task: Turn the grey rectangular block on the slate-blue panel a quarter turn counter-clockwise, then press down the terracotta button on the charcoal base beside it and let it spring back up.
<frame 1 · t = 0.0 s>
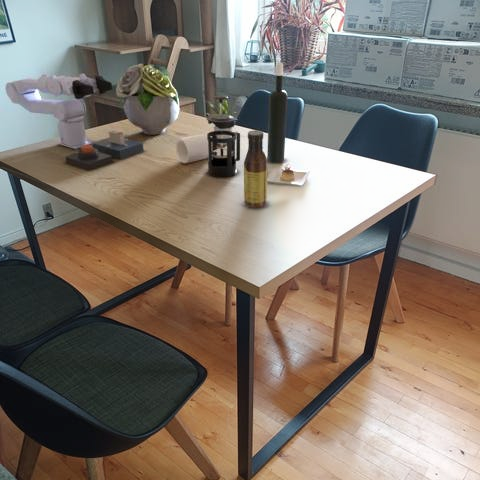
hand: (102, 88, 160), 22 cm above the table, tool horizontal, fingers open, 7 cm apart
mug: (192, 159, 170), on the table
dessert: (287, 180, 154), on the table
house plant: (220, 142, 185), on the table
wine bottle: (275, 160, 169), on the table
grey rectangular block: (116, 137, 173), point 5 cm above the table, hinge at 0.0°
dial panel: (118, 151, 176), on the table
sauce bottle: (254, 205, 138), on the table
flower arrangement: (154, 132, 195), on the table
french press: (223, 172, 159), on the table
button base: (89, 162, 166), on the table
button: (87, 149, 163), point 4 cm above the table, slide at 0.1 cm
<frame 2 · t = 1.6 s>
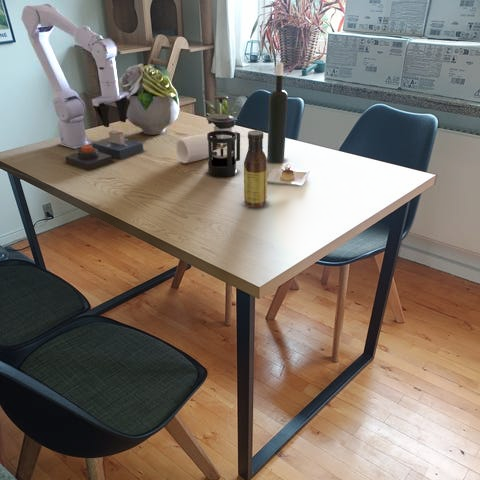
hand: (114, 124, 170), 9 cm above the table, tool pointing down, fingers open, 7 cm apart
nothing on the table moved.
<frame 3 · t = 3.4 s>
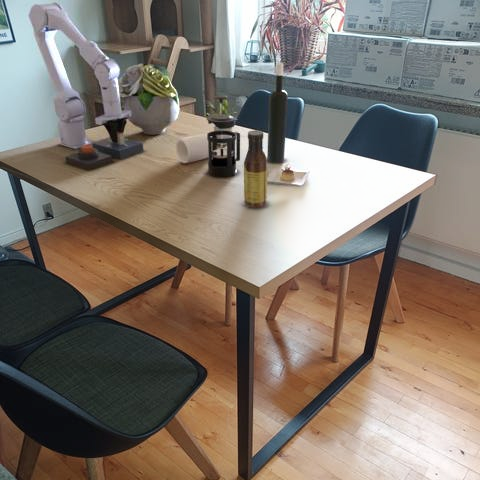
hand: (117, 141, 174), 4 cm above the table, tool pointing down, fingers closed on grey rectangular block, 2 cm apart
grey rectangular block: (116, 137, 173), point 5 cm above the table, hinge at -0.1°, touching gripper
everything else where it was.
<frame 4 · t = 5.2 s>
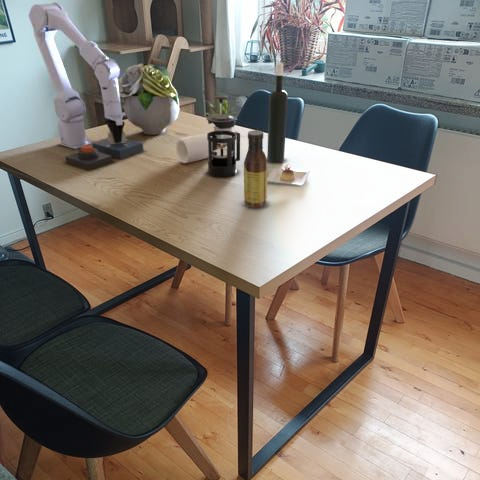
hand: (117, 141, 174), 4 cm above the table, tool pointing down, fingers closed on grey rectangular block, 2 cm apart
grey rectangular block: (116, 137, 173), point 5 cm above the table, hinge at 62.7°, touching gripper
everything else where it was.
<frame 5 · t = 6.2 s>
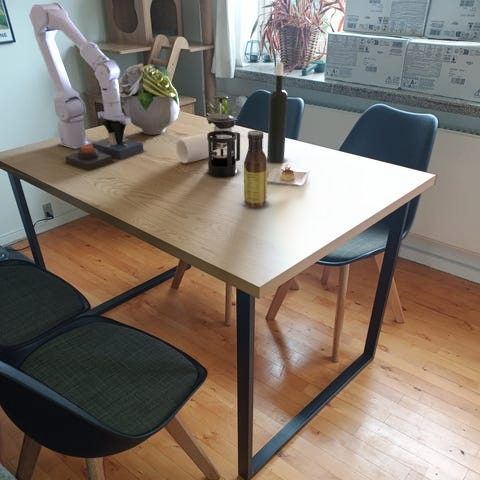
hand: (117, 142, 174), 3 cm above the table, tool pointing down, fingers closed on grey rectangular block, 2 cm apart
grey rectangular block: (116, 137, 173), point 5 cm above the table, hinge at 89.9°, touching gripper
everything else where it was.
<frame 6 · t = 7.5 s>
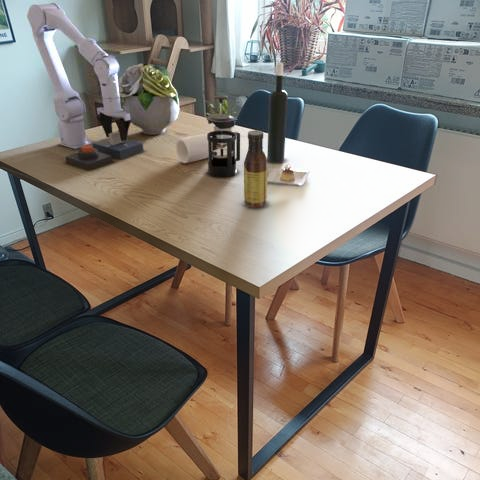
hand: (116, 138, 173), 5 cm above the table, tool pointing down, fingers open, 7 cm apart
grey rectangular block: (116, 137, 173), point 5 cm above the table, hinge at 89.9°
everything else where it was.
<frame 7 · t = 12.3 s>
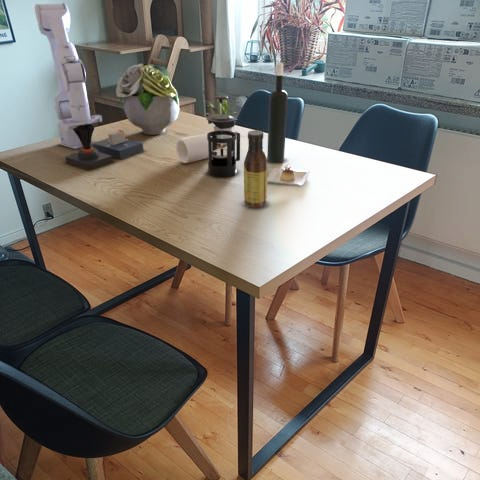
hand: (87, 148, 163), 5 cm above the table, tool pointing down, fingers closed, pressing on button
button: (87, 151, 164), point 4 cm above the table, slide at -0.5 cm, touching gripper
everything else where it was.
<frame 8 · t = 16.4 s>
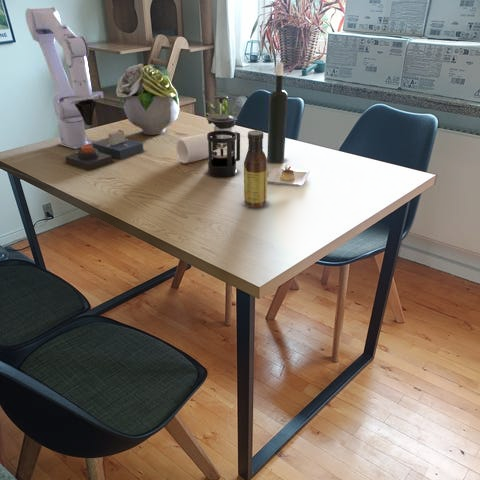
hand: (88, 124, 166), 10 cm above the table, tool pointing down, fingers closed
button: (87, 149, 163), point 4 cm above the table, slide at 0.1 cm
everything else where it was.
at the end: grey rectangular block at +90° (first picture: +0°); button pushed in 1.0 cm at the most during the clip, back to where it started at the end; button slide at 0.1 cm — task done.
